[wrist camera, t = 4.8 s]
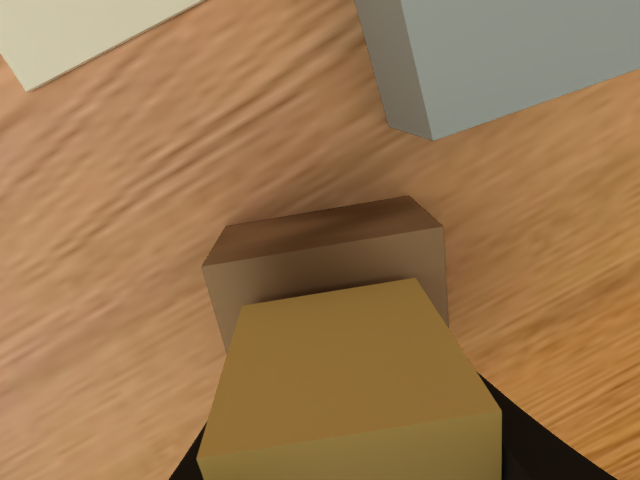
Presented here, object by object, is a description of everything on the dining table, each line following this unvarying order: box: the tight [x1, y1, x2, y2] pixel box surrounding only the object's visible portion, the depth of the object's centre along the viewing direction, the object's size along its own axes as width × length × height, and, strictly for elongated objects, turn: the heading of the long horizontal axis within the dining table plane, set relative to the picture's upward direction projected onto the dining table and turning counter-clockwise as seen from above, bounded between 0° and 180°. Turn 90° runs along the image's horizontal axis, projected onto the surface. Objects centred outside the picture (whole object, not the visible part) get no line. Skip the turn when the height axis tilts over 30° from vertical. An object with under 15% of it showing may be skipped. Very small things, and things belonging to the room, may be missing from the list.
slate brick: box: [355, 0, 640, 141], centre depth 10 cm, size 5×5×5 cm
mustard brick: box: [196, 278, 502, 480], centre depth 9 cm, size 5×5×5 cm
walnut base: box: [201, 196, 449, 354], centre depth 14 cm, size 7×7×4 cm
